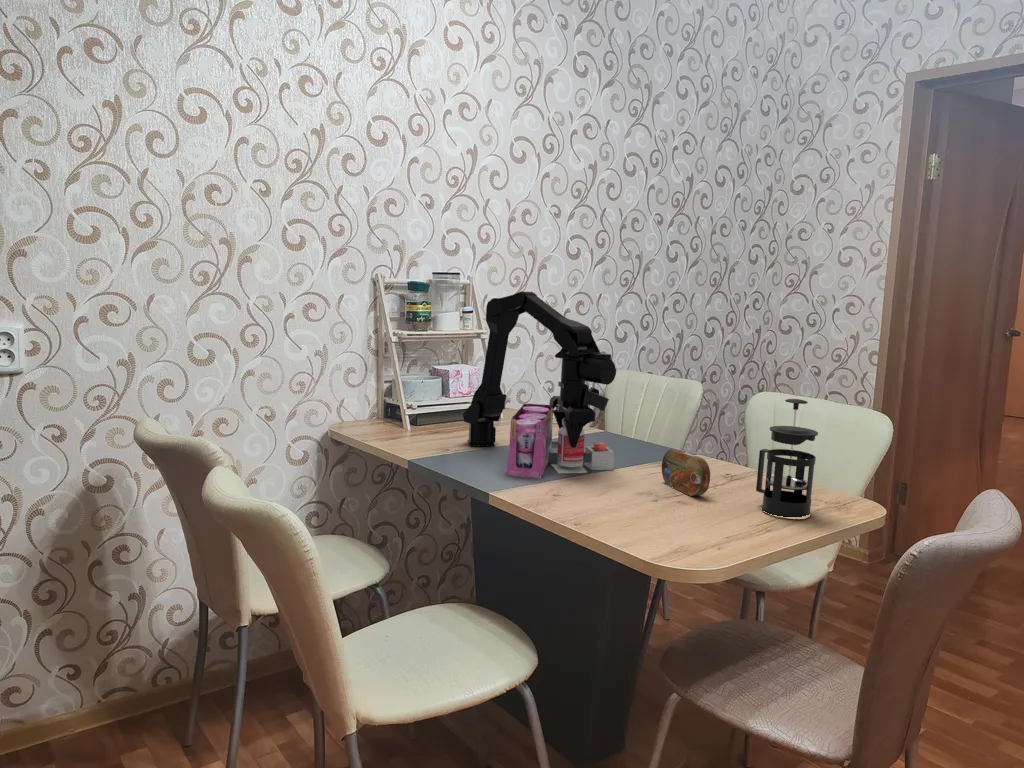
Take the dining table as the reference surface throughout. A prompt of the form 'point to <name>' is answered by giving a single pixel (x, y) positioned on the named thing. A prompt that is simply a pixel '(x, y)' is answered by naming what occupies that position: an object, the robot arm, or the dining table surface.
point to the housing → (599, 458)
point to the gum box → (530, 440)
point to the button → (599, 447)
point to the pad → (568, 469)
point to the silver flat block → (554, 451)
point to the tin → (686, 472)
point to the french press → (787, 500)
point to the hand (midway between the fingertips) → (569, 444)
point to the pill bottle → (569, 449)
